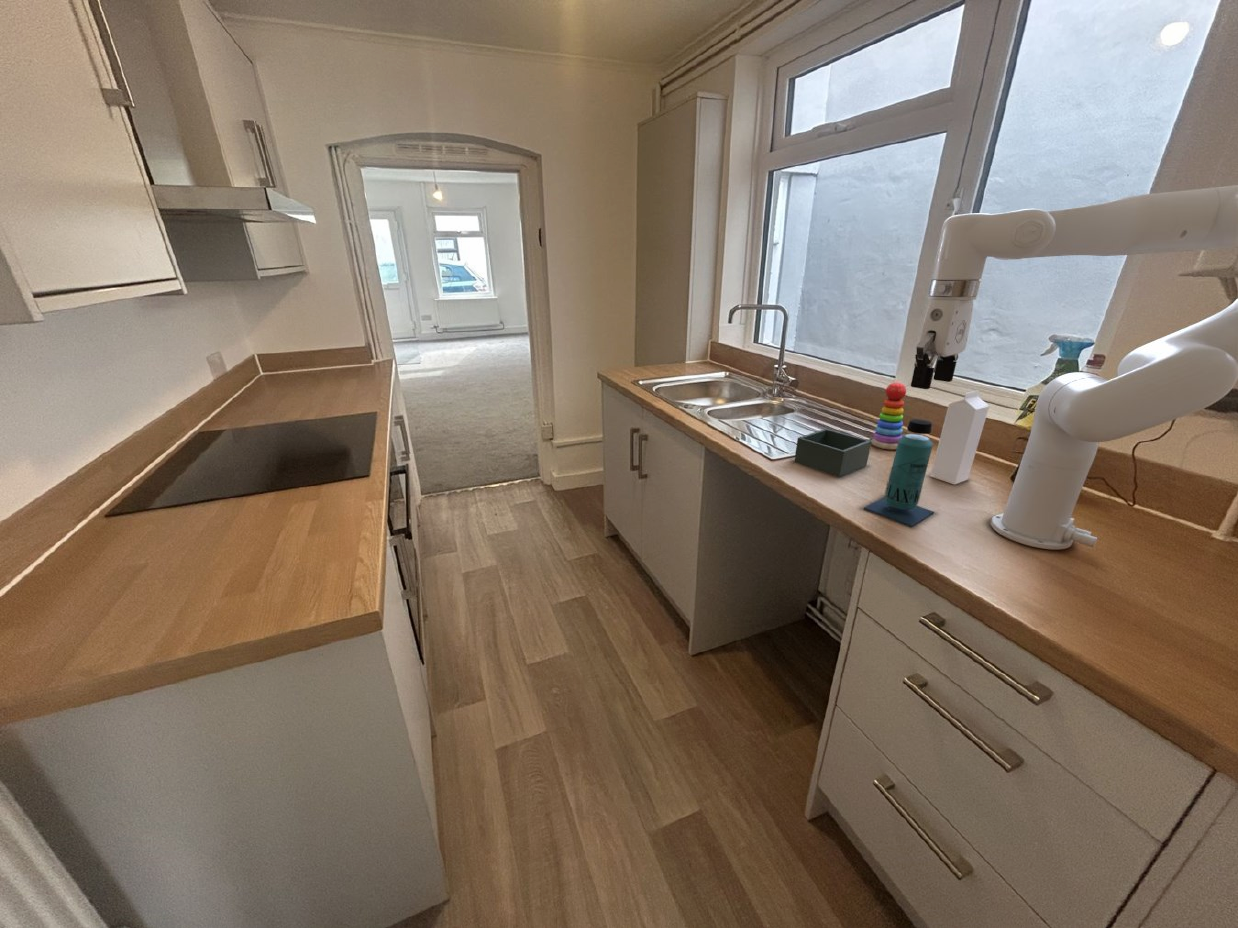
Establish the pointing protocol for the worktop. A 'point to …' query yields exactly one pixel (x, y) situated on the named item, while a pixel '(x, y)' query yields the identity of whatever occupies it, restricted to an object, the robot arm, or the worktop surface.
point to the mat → (899, 513)
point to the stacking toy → (890, 418)
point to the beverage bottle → (909, 466)
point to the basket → (832, 452)
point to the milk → (959, 439)
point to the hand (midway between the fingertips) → (931, 384)
